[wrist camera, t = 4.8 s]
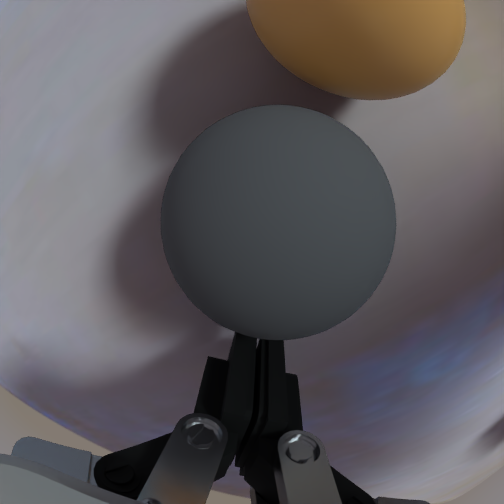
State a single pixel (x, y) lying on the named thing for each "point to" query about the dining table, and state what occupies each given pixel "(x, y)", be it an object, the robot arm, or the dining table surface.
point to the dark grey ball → (278, 222)
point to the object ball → (362, 42)
